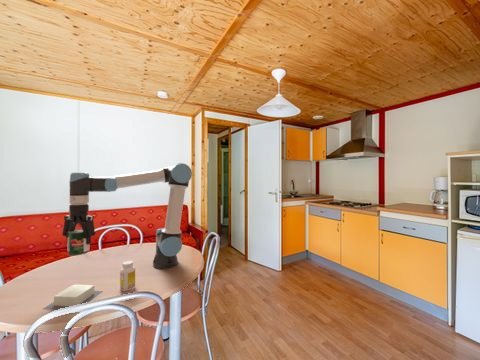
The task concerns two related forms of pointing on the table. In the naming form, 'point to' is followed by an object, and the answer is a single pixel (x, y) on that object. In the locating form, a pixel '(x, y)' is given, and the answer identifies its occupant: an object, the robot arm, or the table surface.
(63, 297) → the cream base block
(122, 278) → the supplement bottle
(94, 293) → the grey flat square
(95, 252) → the table surface
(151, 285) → the table surface
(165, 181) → the robot arm
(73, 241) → the canned tomato
